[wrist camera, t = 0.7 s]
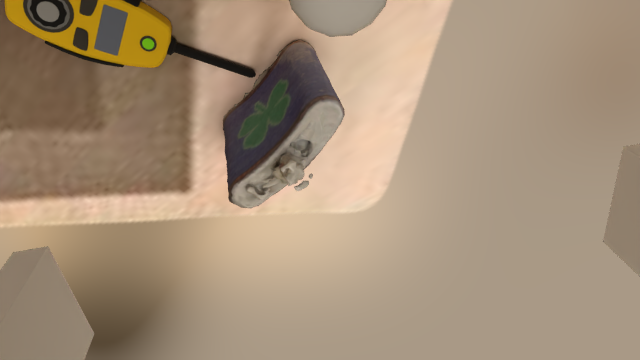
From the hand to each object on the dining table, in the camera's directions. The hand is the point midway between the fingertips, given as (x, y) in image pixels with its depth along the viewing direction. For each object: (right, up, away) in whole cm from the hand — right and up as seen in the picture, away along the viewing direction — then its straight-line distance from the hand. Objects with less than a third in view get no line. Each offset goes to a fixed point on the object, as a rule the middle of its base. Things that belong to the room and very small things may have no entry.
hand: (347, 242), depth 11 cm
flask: (-5, +8, +24) cm, 25 cm away
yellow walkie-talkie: (-12, +11, +20) cm, 26 cm away
